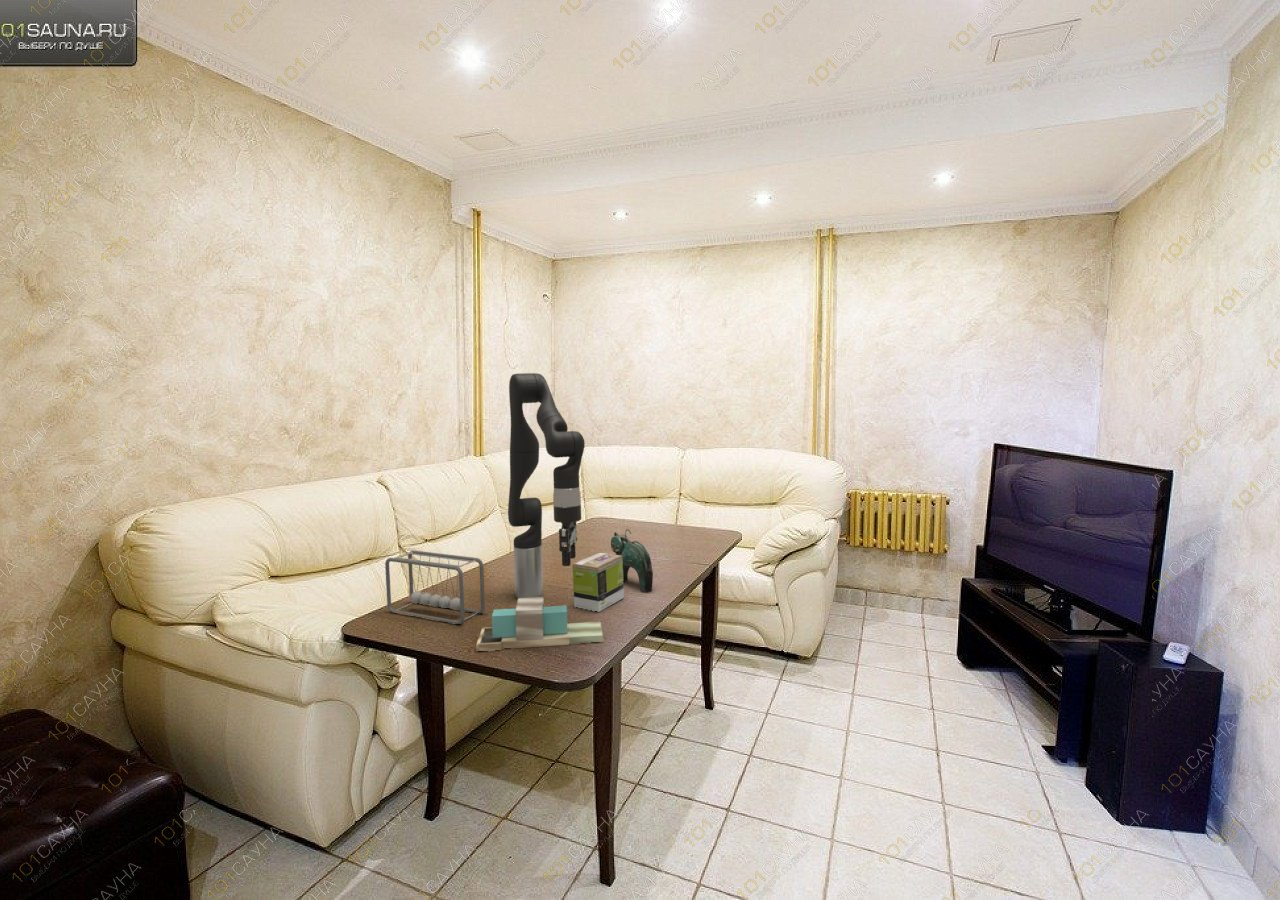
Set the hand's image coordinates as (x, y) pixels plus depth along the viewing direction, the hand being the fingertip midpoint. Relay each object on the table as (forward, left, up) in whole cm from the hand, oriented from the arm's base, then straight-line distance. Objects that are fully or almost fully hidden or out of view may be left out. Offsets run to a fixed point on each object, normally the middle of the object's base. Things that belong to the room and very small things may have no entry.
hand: (569, 561), depth 162 cm
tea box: (-25, +10, -21) cm, 34 cm away
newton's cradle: (-24, -41, -21) cm, 52 cm away
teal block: (+1, -11, -19) cm, 22 cm away
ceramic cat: (-41, +23, -21) cm, 51 cm away
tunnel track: (+1, -8, -21) cm, 23 cm away
